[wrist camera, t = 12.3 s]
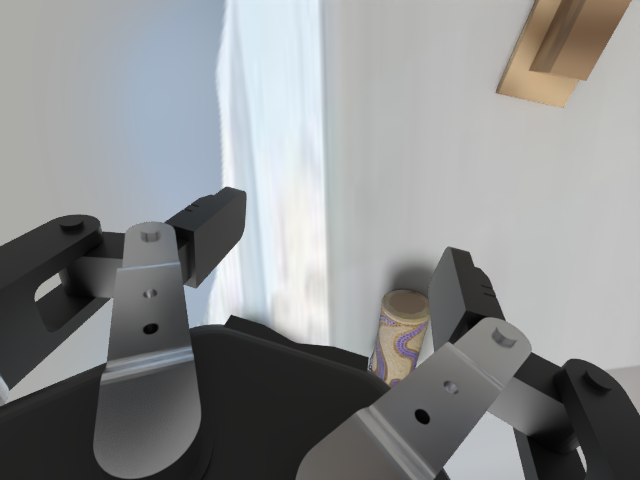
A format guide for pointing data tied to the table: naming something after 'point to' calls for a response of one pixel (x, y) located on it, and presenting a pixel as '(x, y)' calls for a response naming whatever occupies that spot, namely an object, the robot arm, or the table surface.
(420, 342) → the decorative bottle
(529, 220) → the table surface
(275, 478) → the robot arm
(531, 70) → the stub
